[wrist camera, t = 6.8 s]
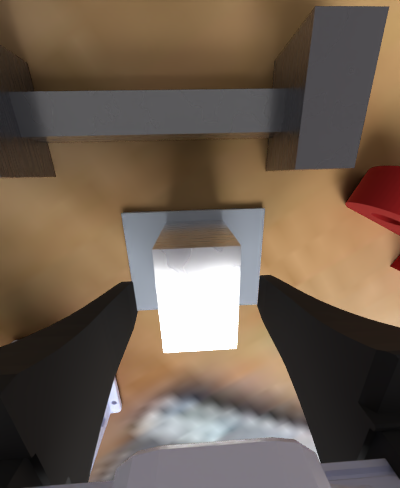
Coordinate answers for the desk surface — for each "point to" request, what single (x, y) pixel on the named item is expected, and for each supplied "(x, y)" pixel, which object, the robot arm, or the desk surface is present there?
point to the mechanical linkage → (379, 199)
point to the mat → (151, 223)
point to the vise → (214, 103)
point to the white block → (197, 285)
